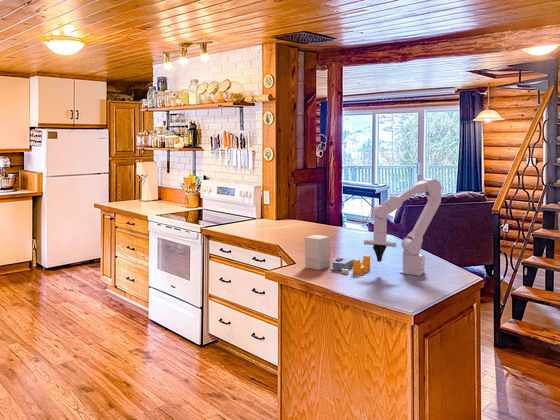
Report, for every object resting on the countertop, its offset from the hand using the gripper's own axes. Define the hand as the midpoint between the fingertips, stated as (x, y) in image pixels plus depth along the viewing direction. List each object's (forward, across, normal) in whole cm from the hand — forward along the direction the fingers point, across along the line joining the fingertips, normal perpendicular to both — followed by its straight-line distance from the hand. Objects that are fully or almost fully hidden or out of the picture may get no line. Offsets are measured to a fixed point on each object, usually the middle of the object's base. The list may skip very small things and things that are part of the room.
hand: (379, 261), depth 222 cm
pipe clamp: (+6, +8, -1) cm, 10 cm away
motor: (+6, +17, -1) cm, 18 cm away
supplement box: (+6, +30, +1) cm, 31 cm away
